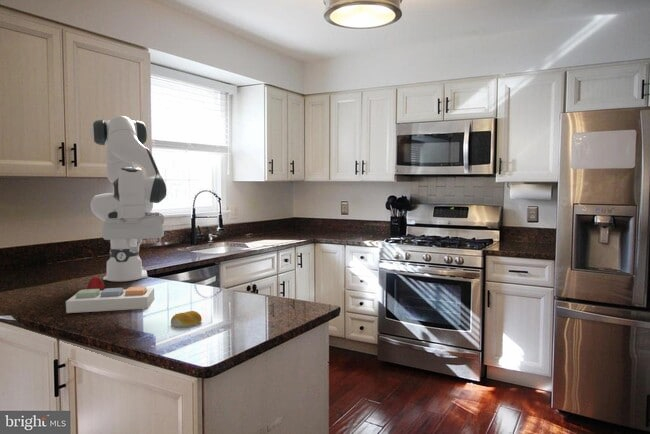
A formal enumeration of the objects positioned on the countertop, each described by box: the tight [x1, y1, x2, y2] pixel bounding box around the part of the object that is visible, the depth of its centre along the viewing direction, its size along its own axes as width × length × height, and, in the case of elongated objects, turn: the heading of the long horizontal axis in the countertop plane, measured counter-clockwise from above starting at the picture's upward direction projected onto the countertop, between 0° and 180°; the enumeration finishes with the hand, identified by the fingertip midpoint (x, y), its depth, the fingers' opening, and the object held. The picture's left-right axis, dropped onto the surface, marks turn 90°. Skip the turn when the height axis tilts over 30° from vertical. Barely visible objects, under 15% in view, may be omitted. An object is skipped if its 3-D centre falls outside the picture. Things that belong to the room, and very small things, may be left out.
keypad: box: [65, 287, 155, 314], centre depth 166 cm, size 14×26×4 cm, turn 101°
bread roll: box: [170, 310, 203, 329], centre depth 144 cm, size 8×9×4 cm
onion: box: [86, 274, 105, 291], centre depth 180 cm, size 6×6×8 cm
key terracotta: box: [125, 286, 147, 296], centre depth 167 cm, size 6×6×3 cm
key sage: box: [75, 288, 100, 298], centre depth 164 cm, size 6×6×3 cm
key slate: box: [101, 287, 124, 297], centre depth 166 cm, size 6×6×3 cm
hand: (134, 251), depth 166 cm, fingers closed
